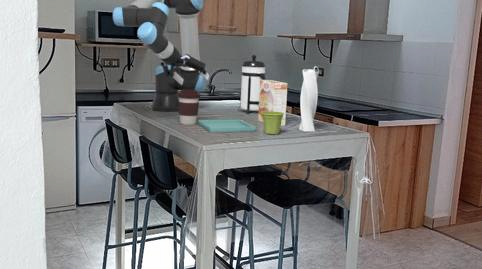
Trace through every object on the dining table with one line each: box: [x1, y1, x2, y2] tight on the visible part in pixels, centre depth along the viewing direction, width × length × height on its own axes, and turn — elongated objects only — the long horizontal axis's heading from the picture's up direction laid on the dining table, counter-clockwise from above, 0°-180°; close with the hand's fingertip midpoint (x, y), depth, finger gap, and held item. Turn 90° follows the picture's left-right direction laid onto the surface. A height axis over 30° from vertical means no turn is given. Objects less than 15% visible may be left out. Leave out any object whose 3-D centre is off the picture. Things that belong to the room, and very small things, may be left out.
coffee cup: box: [177, 89, 201, 126], centre depth 220 cm, size 10×10×15 cm
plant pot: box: [261, 111, 284, 135], centre depth 206 cm, size 9×9×9 cm
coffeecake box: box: [257, 79, 288, 127], centre depth 230 cm, size 15×7×20 cm, turn 23°
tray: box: [197, 119, 257, 133], centre depth 215 cm, size 20×20×2 cm
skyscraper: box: [296, 65, 320, 133], centre depth 213 cm, size 8×8×28 cm
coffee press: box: [237, 54, 267, 114], centre depth 262 cm, size 17×16×30 cm
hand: (194, 80), depth 220 cm, fingers open, 13 cm apart
